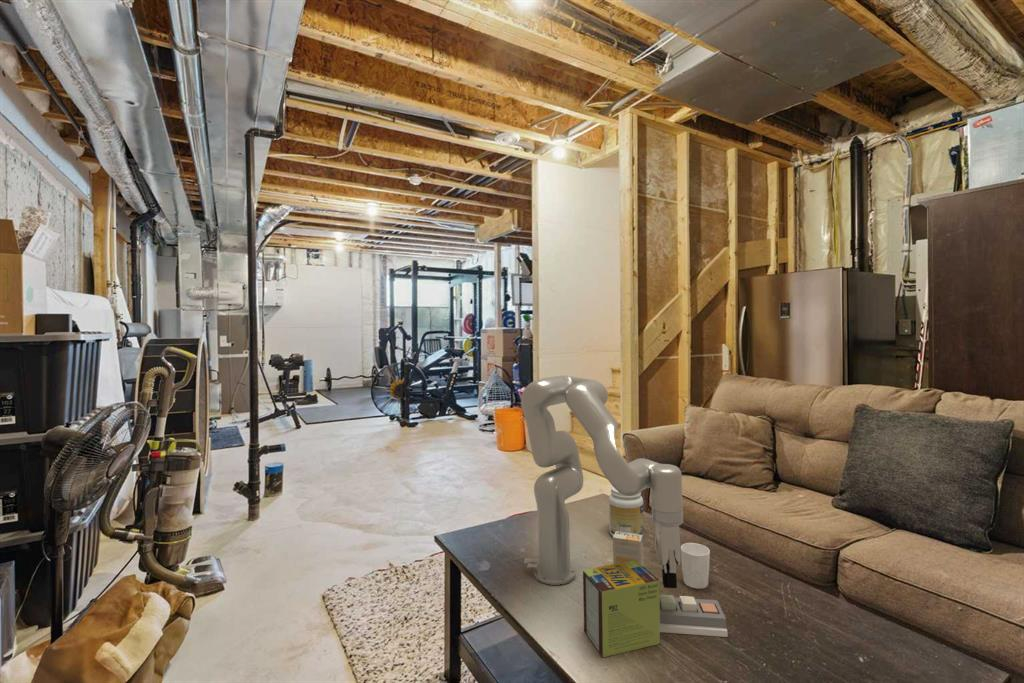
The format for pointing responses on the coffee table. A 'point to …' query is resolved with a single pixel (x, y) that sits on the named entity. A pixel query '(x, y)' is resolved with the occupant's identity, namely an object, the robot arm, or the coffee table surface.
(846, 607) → the coffee table surface
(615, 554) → the supplement box
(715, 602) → the keypad
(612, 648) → the protein box
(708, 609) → the key
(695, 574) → the white cup
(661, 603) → the key
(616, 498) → the supplement tub
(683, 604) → the key
